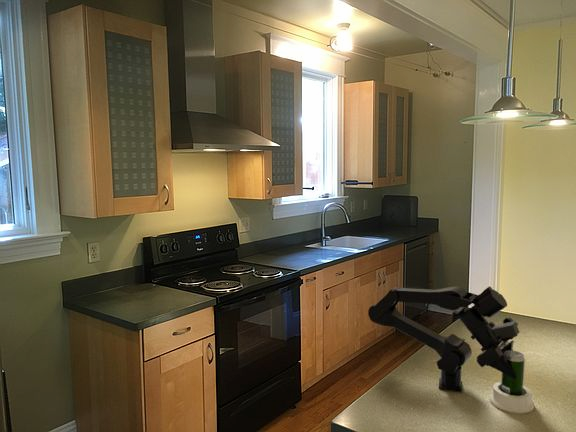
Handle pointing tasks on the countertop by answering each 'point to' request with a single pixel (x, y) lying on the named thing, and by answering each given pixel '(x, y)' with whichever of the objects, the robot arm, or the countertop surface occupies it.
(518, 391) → the beer can
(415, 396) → the countertop surface
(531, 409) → the can holder
